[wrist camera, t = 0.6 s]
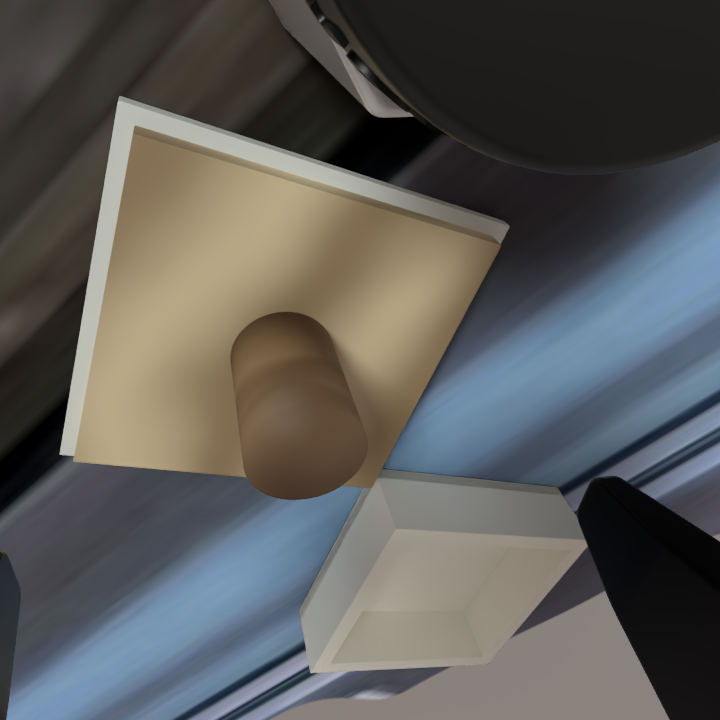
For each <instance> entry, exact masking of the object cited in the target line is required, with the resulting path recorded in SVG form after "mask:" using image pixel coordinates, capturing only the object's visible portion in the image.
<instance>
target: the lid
mask: <svg viewBox="0 0 720 720" xmlns="http://www.w3.org/2000/svg"><path fill="white" fill-rule="evenodd" d="M501 246H502V245H501V244H500V243H499V242H498V241H497V240H496V239H495V238H494V237H493V236H491V235H488V234H485V233H482V232H478V231H475V230H472V229H469V228H466V227H462V226H459V225H456V224H453V223H449V222H446V221H443V220H440V219H436V218H433V217H430V216H427V215H424V214H420V213H417V212H414V211H411V210H407V209H404V208H401V207H398V206H394V205H391V204H388V203H385V202H382V201H378V200H375V199H372V198H369V197H365V196H362V195H359V194H356V193H353V192H349V191H346V190H343V189H340V188H336V187H333V186H330V185H327V184H323V183H320V182H317V181H314V180H311V179H307V178H304V177H301V176H298V175H294V174H291V173H288V172H285V171H282V170H278V169H275V168H272V167H269V166H265V165H262V164H259V163H256V162H252V161H249V160H246V159H243V158H240V157H236V156H233V155H230V154H227V153H223V152H220V151H217V150H214V149H210V148H207V147H204V146H201V145H198V144H194V143H191V142H188V141H185V140H181V139H178V138H175V137H172V136H169V135H165V134H162V133H159V132H156V131H152V130H149V129H146V128H143V127H139V126H136V125H135V126H134V130H133V136H132V141H131V147H130V152H129V158H128V163H127V169H126V174H125V180H124V185H123V191H122V196H121V202H120V207H119V213H118V218H117V224H116V229H115V235H114V240H113V246H112V251H111V257H110V262H109V268H108V273H107V279H106V284H105V290H104V295H103V301H102V306H101V312H100V317H99V323H98V328H97V334H96V339H95V345H94V350H93V356H92V361H91V367H90V372H89V378H88V383H87V389H86V394H85V400H84V405H83V411H82V416H81V422H80V427H79V433H78V438H77V444H76V449H75V455H74V460H73V462H84V463H95V464H106V465H117V466H128V467H140V468H151V469H162V470H173V471H184V472H196V473H207V474H218V475H229V476H240V477H247V478H248V480H249V481H250V483H251V484H252V485H253V486H254V487H255V488H257V489H258V490H259V491H261V492H263V493H265V494H267V495H269V496H272V497H276V498H280V499H287V500H300V499H308V498H313V497H317V496H321V495H324V494H326V493H329V492H331V491H333V490H335V489H337V488H339V487H340V486H353V487H364V488H372V486H373V485H374V483H375V481H376V479H377V477H378V475H379V473H380V471H381V470H382V468H383V466H384V464H385V462H386V460H387V458H388V457H389V455H390V453H391V451H392V449H393V447H394V445H395V443H396V442H397V440H398V438H399V436H400V434H401V432H402V430H403V429H404V427H405V425H406V423H407V421H408V419H409V417H410V415H411V414H412V412H413V410H414V408H415V406H416V404H417V402H418V401H419V399H420V397H421V395H422V393H423V391H424V389H425V387H426V386H427V384H428V382H429V380H430V378H431V376H432V374H433V372H434V371H435V369H436V367H437V365H438V363H439V361H440V359H441V358H442V356H443V354H444V352H445V350H446V348H447V346H448V344H449V343H450V341H451V339H452V337H453V335H454V333H455V331H456V330H457V328H458V326H459V324H460V322H461V320H462V318H463V316H464V315H465V313H466V311H467V309H468V307H469V305H470V303H471V302H472V300H473V298H474V296H475V294H476V292H477V290H478V288H479V287H480V285H481V283H482V281H483V279H484V277H485V275H486V274H487V272H488V270H489V268H490V266H491V264H492V262H493V260H494V259H495V257H496V255H497V253H498V251H499V249H500V247H501Z"/></svg>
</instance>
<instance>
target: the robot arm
mask: <svg viewBox="0 0 720 720" xmlns="http://www.w3.org/2000/svg"><path fill="white" fill-rule="evenodd" d="M577 517H578V522H579V525H580V528H581V530H582V533H583V536H584V538H585V541H586V543H587V546H588V548H589V551H590V553H591V556H592V558H593V561H594V563H595V566H596V568H597V571H598V573H599V576H600V578H601V581H602V584H603V586H604V589H605V591H606V593H607V596H608V598H609V601H610V603H611V605H612V607H613V609H614V611H615V613H616V616H617V617H618V620H619V622H620V624H621V626H622V628H623V629H624V631H625V633H626V635H627V637H628V639H629V641H630V643H631V645H632V647H633V649H634V651H635V653H636V655H637V657H638V659H639V661H640V663H641V665H642V667H643V669H644V671H645V673H646V674H647V676H648V678H649V680H650V682H651V684H652V686H653V688H654V690H655V692H656V694H657V696H658V698H659V700H660V702H661V704H662V706H663V708H664V709H665V712H666V713H667V715H668V717H669V719H670V720H720V542H719V541H718V540H716V539H715V538H714V537H712V536H710V535H709V534H707V533H706V532H704V531H703V530H701V529H700V528H698V527H696V526H695V525H693V524H692V523H690V522H689V521H687V520H685V519H684V518H682V517H681V516H679V515H678V514H676V513H675V512H673V511H671V510H670V509H668V508H667V507H665V506H664V505H662V504H661V503H659V502H657V501H656V500H654V499H653V498H651V497H650V496H648V495H646V494H645V493H643V492H642V491H640V490H639V489H637V488H636V487H634V486H632V485H631V484H629V483H628V482H626V481H625V480H623V479H621V478H620V477H617V476H606V477H598V478H594V479H593V480H592V481H591V482H590V484H589V486H588V488H587V490H586V492H585V494H584V497H583V499H582V501H581V503H580V505H579V508H578V512H577ZM20 602H21V594H20V586H19V583H18V581H17V578H16V576H15V573H14V571H13V568H12V565H11V563H10V560H9V558H8V556H7V554H6V553H5V552H3V551H0V720H6V717H7V709H8V702H9V695H10V686H11V678H12V670H13V661H14V653H15V644H16V636H17V628H18V619H19V611H20Z"/></svg>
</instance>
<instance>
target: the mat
mask: <svg viewBox="0 0 720 720" xmlns="http://www.w3.org/2000/svg"><path fill="white" fill-rule="evenodd" d="M135 125H136V126H139V127H143V128H146V129H149V130H152V131H156V132H159V133H162V134H165V135H169V136H172V137H175V138H178V139H181V140H185V141H188V142H191V143H194V144H198V145H201V146H204V147H207V148H210V149H214V150H217V151H220V152H223V153H227V154H230V155H233V156H236V157H240V158H243V159H246V160H249V161H252V162H256V163H259V164H262V165H265V166H269V167H272V168H275V169H278V170H282V171H285V172H288V173H291V174H294V175H298V176H301V177H304V178H307V179H311V180H314V181H317V182H320V183H323V184H327V185H330V186H333V187H336V188H340V189H343V190H346V191H349V192H353V193H356V194H359V195H362V196H365V197H369V198H372V199H375V200H378V201H382V202H385V203H388V204H391V205H394V206H398V207H401V208H404V209H407V210H411V211H414V212H417V213H420V214H424V215H427V216H430V217H433V218H436V219H440V220H443V221H446V222H449V223H453V224H456V225H459V226H462V227H466V228H469V229H472V230H475V231H478V232H482V233H485V234H488V235H491V236H493V237H494V238H495V239H496V240H497V241H498V242H499V243H500V244H501V243H502V241H503V239H504V237H505V235H506V233H507V231H508V229H509V228H510V226H509V225H508V224H507V223H506V222H505V221H503V220H500V219H497V218H494V217H490V216H487V215H484V214H481V213H478V212H475V211H472V210H469V209H466V208H463V207H460V206H457V205H454V204H451V203H447V202H444V201H441V200H438V199H435V198H432V197H429V196H426V195H423V194H420V193H417V192H414V191H411V190H407V189H404V188H401V187H398V186H395V185H392V184H389V183H386V182H383V181H380V180H377V179H374V178H371V177H368V176H364V175H361V174H358V173H355V172H352V171H349V170H346V169H343V168H340V167H337V166H334V165H331V164H328V163H325V162H321V161H318V160H315V159H312V158H309V157H306V156H303V155H300V154H297V153H294V152H291V151H288V150H285V149H281V148H278V147H275V146H272V145H269V144H266V143H263V142H260V141H257V140H254V139H251V138H248V137H245V136H242V135H238V134H235V133H232V132H229V131H226V130H223V129H220V128H217V127H214V126H211V125H208V124H205V123H202V122H199V121H195V120H192V119H189V118H186V117H183V116H180V115H177V114H174V113H171V112H168V111H165V110H162V109H159V108H156V107H152V106H149V105H146V104H143V103H140V102H137V101H134V100H131V99H128V98H125V97H122V96H119V99H118V104H117V110H116V116H115V122H114V128H113V134H112V140H111V146H110V152H109V159H108V165H107V171H106V177H105V183H104V189H103V195H102V201H101V207H100V213H99V219H98V225H97V231H96V237H95V243H94V249H93V255H92V262H91V268H90V274H89V280H88V286H87V292H86V298H85V304H84V310H83V316H82V322H81V328H80V334H79V340H78V346H77V352H76V359H75V365H74V371H73V377H72V383H71V389H70V395H69V401H68V407H67V413H66V419H65V425H64V431H63V437H62V443H61V449H60V455H70V456H74V455H75V449H76V444H77V438H78V433H79V427H80V422H81V416H82V411H83V405H84V400H85V394H86V389H87V383H88V378H89V372H90V367H91V361H92V356H93V350H94V345H95V339H96V334H97V328H98V323H99V317H100V312H101V306H102V301H103V295H104V290H105V284H106V279H107V273H108V268H109V262H110V257H111V251H112V246H113V240H114V235H115V229H116V224H117V218H118V213H119V207H120V202H121V196H122V191H123V185H124V180H125V174H126V169H127V163H128V158H129V152H130V147H131V141H132V136H133V130H134V126H135Z"/></svg>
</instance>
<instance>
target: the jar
mask: <svg viewBox="0 0 720 720" xmlns="http://www.w3.org/2000/svg"><path fill="white" fill-rule="evenodd" d="M269 2H270V4H271V5H272V7H273V9H274V11H275V13H276V14H277V16H278V18H279V20H280V22H281V23H282V25H283V27H284V28H285V29H286V30H287V31H288V32H289V33H290V34H291V35H292V36H293V37H294V38H295V39H296V40H297V41H298V42H299V43H300V44H301V45H302V46H303V47H304V48H305V49H306V50H307V51H308V52H309V53H310V54H311V55H312V56H313V57H314V58H315V59H316V60H317V61H318V62H319V63H320V64H321V65H322V66H323V67H324V68H325V69H326V70H327V71H328V72H329V73H330V74H331V75H332V76H333V77H334V78H335V79H336V80H337V81H338V82H339V83H340V84H341V85H342V86H343V87H344V88H345V89H346V90H347V91H348V92H349V93H350V94H351V95H352V96H353V97H354V98H355V99H356V100H357V101H358V102H359V103H360V104H361V105H362V106H363V107H364V108H365V109H366V110H367V111H368V112H369V113H371V114H372V115H374V116H376V117H381V118H390V117H415V118H417V119H418V120H419V121H420V122H422V123H423V124H424V125H425V126H427V127H428V128H430V129H432V130H434V131H435V132H437V133H438V132H441V133H443V134H445V135H448V136H450V137H452V138H453V139H455V140H457V141H459V142H460V143H462V144H463V145H464V146H467V147H469V148H471V149H473V150H475V151H478V152H480V153H482V154H484V155H487V156H489V157H491V158H494V159H497V160H499V161H502V162H505V163H508V164H511V165H515V166H519V167H523V168H527V169H531V170H536V171H541V172H547V173H557V174H567V175H601V174H609V173H618V172H626V171H631V170H636V169H640V168H645V167H649V166H654V165H657V164H660V163H663V162H666V161H670V160H673V159H676V158H679V157H682V156H685V155H687V154H689V153H692V152H694V151H697V150H699V149H701V148H704V147H706V146H708V145H711V144H713V143H715V142H718V141H719V140H720V0H269Z"/></svg>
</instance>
